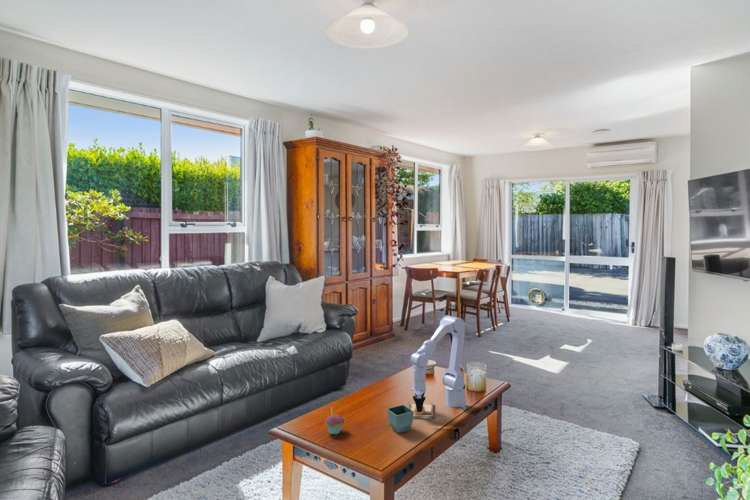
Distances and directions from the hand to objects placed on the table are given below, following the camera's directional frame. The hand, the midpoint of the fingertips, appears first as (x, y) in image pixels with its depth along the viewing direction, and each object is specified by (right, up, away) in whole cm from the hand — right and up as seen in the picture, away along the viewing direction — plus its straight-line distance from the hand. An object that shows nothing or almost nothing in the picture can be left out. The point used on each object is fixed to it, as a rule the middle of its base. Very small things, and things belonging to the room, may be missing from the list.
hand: (419, 408), depth 209 cm
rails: (0, -4, +4) cm, 5 cm away
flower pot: (-10, -5, -14) cm, 18 cm away
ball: (0, -3, 0) cm, 3 cm away
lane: (0, -4, +4) cm, 5 cm away
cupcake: (-38, -5, -14) cm, 41 cm away
